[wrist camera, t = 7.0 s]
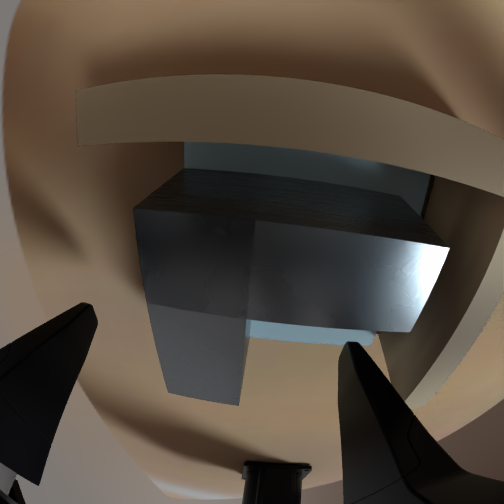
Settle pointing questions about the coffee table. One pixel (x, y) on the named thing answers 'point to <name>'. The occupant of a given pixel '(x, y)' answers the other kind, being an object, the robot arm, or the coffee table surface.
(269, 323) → the pad
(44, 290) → the coffee table surface
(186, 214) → the bracket
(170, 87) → the corner walls
